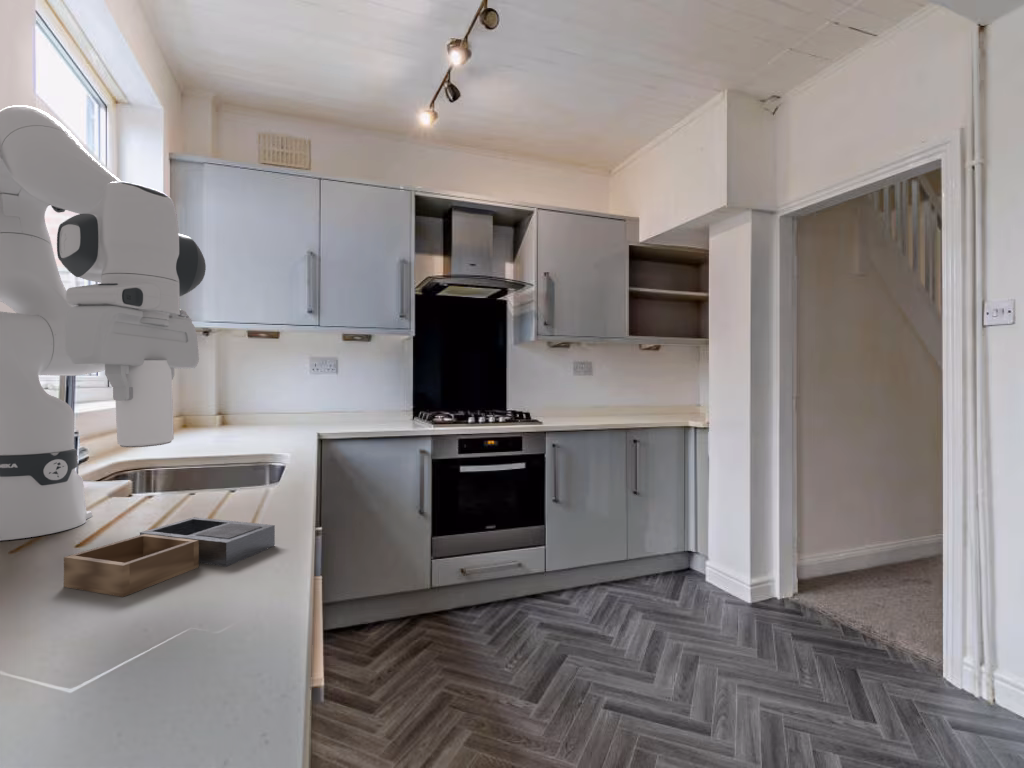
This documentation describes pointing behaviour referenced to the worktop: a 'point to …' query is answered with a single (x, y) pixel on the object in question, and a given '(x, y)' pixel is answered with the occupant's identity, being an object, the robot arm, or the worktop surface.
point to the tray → (221, 538)
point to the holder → (130, 564)
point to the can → (147, 406)
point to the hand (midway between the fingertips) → (142, 399)
